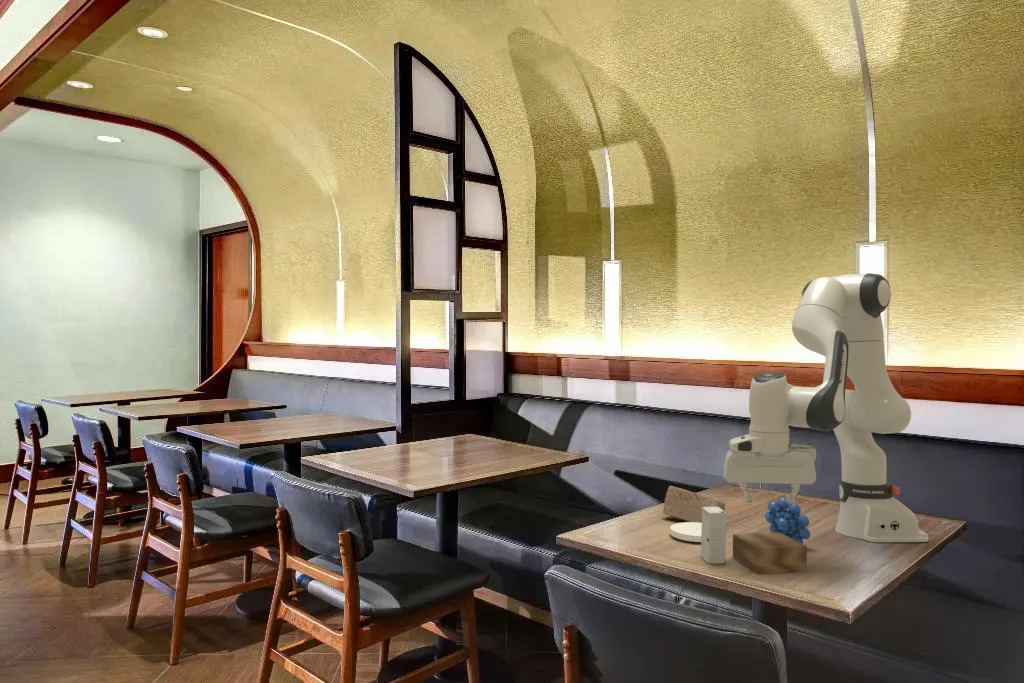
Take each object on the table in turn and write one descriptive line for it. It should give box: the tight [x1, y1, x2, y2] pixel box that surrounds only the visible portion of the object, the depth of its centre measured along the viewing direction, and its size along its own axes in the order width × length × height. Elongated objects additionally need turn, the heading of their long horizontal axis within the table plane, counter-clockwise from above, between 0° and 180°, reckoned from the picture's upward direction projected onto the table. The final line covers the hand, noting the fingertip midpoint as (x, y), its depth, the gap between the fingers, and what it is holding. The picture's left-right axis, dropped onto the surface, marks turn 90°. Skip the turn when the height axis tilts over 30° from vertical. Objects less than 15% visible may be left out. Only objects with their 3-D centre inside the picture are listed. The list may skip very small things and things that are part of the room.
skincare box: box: [700, 507, 728, 565], centre depth 172 cm, size 6×4×12 cm
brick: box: [662, 485, 726, 523], centre depth 205 cm, size 17×8×5 cm
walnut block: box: [732, 532, 808, 575], centre depth 169 cm, size 12×12×6 cm
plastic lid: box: [669, 521, 702, 543], centre depth 192 cm, size 14×14×2 cm
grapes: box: [764, 497, 811, 545], centre depth 183 cm, size 12×7×12 cm, turn 46°
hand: (769, 502), depth 169 cm, fingers open, 8 cm apart
